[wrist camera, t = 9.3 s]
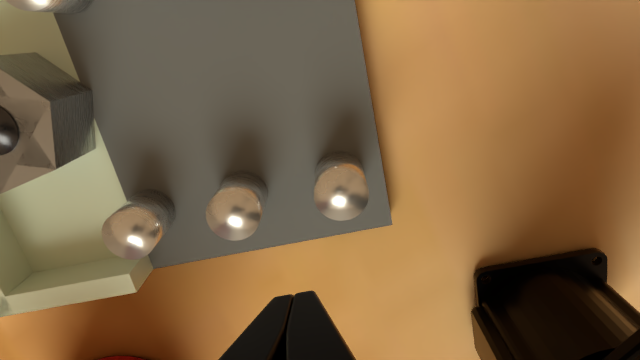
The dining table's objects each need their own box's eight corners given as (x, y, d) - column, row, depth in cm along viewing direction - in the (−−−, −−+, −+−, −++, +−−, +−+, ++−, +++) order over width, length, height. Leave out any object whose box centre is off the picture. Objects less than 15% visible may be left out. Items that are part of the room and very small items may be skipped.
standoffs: (311, -111, 16) (308, -137, 13) (367, 191, 20) (373, 215, 17) (29, -41, 16) (-22, -53, 14) (138, 235, 20) (113, 263, 18)
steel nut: (62, 39, 17) (10, 41, 15) (120, 137, 19) (83, 157, 16) (-40, 89, 18) (-109, 100, 15) (24, 180, 20) (-28, 206, 17)
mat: (324, -166, 16) (324, -179, 15) (389, 215, 21) (392, 224, 20) (27, -90, 17) (10, -97, 16) (160, 258, 22) (153, 268, 21)
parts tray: (27, -90, 17) (-33, -114, 14) (160, 258, 22) (136, 292, 19) (-131, -49, 17) (-220, -64, 14) (35, 281, 22) (-6, 318, 20)
